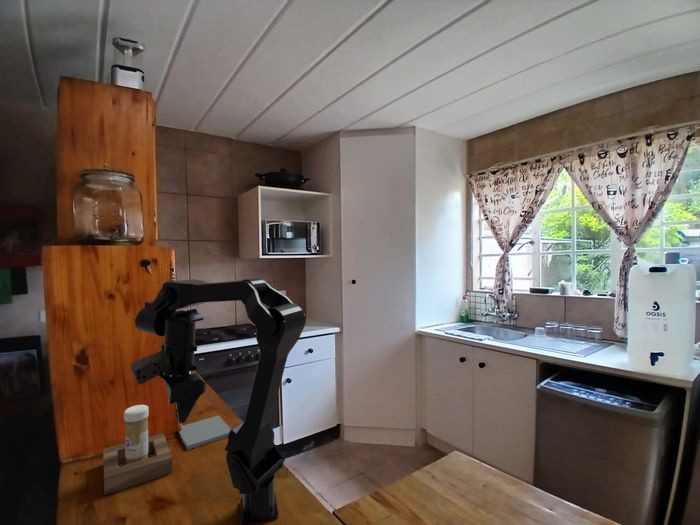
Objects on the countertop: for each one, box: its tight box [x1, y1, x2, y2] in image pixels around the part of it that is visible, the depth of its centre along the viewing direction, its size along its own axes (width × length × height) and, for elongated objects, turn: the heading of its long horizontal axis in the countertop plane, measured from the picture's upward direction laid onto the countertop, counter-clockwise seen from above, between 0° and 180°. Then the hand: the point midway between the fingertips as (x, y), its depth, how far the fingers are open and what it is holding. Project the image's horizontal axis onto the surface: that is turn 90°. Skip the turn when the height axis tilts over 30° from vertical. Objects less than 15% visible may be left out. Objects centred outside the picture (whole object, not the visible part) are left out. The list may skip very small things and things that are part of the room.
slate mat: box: [179, 415, 232, 451], centre depth 92 cm, size 11×11×1 cm
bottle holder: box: [102, 432, 173, 496], centre depth 77 cm, size 12×12×4 cm
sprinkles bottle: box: [123, 404, 150, 465], centre depth 77 cm, size 5×5×14 cm
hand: (177, 412), depth 74 cm, fingers open, 9 cm apart
